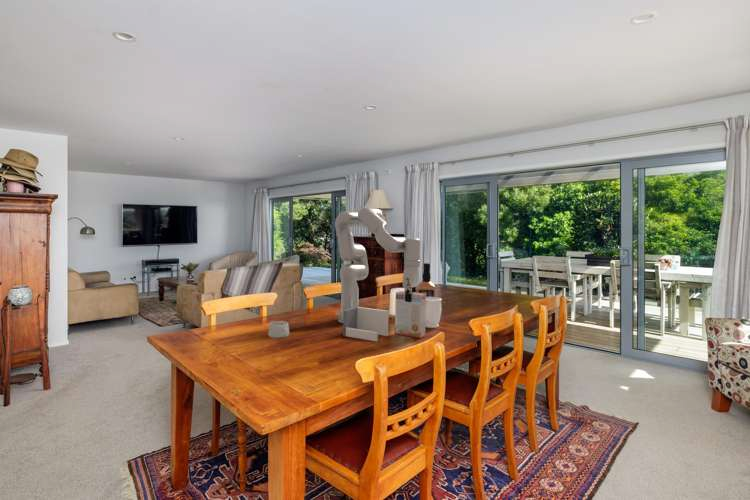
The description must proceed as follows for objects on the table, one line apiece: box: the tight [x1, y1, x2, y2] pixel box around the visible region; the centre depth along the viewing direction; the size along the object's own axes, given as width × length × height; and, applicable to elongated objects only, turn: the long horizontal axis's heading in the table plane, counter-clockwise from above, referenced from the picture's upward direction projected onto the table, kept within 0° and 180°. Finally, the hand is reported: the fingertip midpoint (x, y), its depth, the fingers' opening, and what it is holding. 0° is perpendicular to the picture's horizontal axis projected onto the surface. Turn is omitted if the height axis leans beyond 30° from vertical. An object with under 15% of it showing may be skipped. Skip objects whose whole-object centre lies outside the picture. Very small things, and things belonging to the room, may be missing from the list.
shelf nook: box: [342, 306, 389, 342], centre depth 194 cm, size 18×12×12 cm, turn 63°
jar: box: [425, 296, 442, 329], centre depth 214 cm, size 11×10×15 cm
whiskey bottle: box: [417, 262, 436, 297], centre depth 229 cm, size 10×10×32 cm
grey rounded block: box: [267, 320, 290, 339], centre depth 190 cm, size 12×10×6 cm
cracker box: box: [394, 290, 426, 339], centre depth 196 cm, size 14×6×21 cm, turn 59°
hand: (410, 300), depth 195 cm, fingers closed on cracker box, 6 cm apart
